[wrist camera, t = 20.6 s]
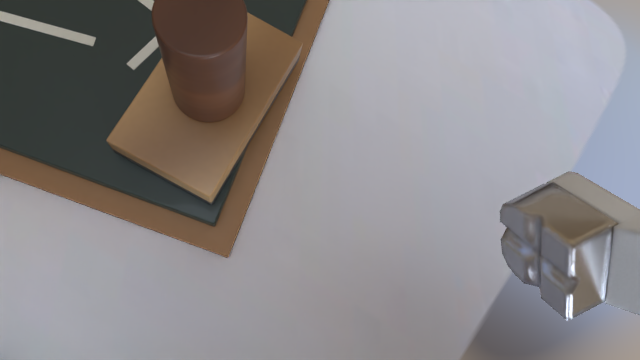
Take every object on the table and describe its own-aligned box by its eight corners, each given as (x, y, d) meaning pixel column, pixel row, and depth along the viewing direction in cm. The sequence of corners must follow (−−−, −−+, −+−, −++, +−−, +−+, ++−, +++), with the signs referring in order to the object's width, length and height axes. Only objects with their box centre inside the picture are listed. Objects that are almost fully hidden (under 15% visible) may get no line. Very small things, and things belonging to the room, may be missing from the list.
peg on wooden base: (114, 152, 25) (59, 78, 17) (209, 10, 27) (198, -113, 19) (211, 206, 25) (201, 156, 17) (299, 60, 27) (324, -43, 19)
